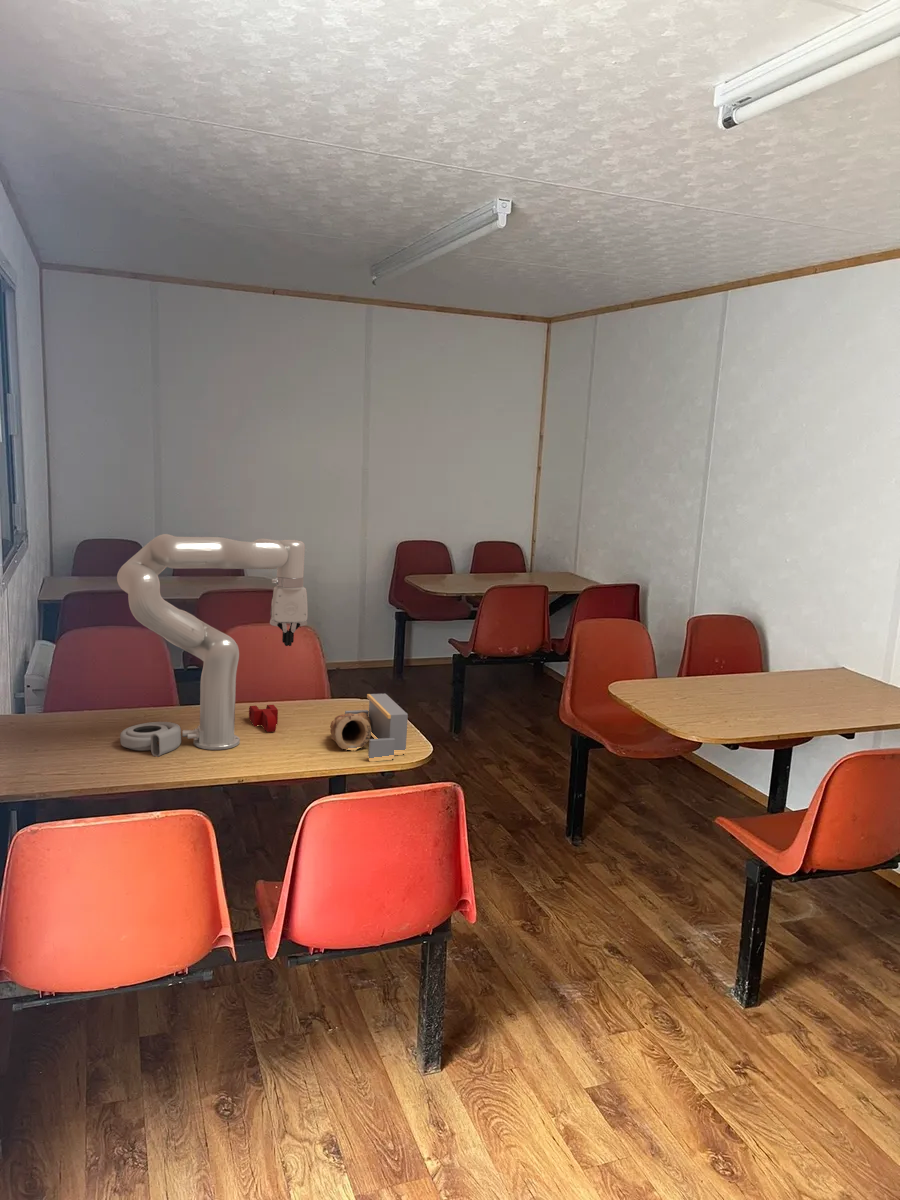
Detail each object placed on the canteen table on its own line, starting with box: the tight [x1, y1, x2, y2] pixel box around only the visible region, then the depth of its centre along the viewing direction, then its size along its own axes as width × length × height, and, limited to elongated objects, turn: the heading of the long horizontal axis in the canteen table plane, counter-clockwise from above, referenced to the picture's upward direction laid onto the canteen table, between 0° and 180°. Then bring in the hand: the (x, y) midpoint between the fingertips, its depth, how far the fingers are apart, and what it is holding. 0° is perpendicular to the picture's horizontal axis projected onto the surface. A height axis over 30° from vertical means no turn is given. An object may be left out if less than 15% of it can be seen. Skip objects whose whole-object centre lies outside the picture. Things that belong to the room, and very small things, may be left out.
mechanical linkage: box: [248, 704, 279, 733], centre depth 264 cm, size 16×7×5 cm, turn 24°
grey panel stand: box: [344, 693, 409, 758], centre depth 253 cm, size 12×29×12 cm, turn 21°
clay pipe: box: [329, 712, 372, 750], centre depth 253 cm, size 19×11×15 cm
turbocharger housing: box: [119, 721, 182, 758], centre depth 240 cm, size 17×6×15 cm
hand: (287, 644), depth 253 cm, fingers closed
